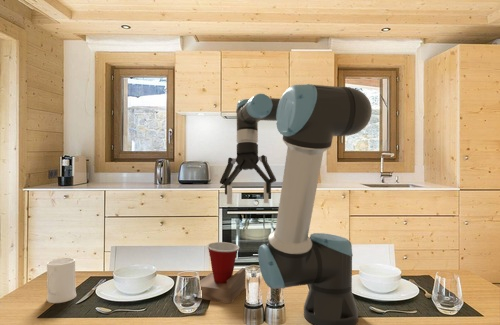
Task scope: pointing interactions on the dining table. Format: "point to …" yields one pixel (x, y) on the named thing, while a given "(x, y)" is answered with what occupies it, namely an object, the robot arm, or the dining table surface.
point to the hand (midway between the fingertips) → (247, 203)
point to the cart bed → (223, 287)
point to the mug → (61, 280)
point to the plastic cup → (222, 260)
